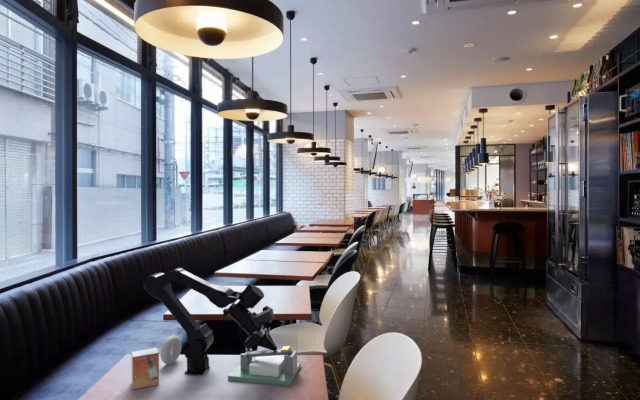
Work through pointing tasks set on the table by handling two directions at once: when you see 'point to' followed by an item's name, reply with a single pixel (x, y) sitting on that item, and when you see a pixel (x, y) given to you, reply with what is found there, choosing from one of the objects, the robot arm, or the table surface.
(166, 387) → the table surface
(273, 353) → the strap
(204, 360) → the robot arm
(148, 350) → the small box
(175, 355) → the donut
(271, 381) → the board
